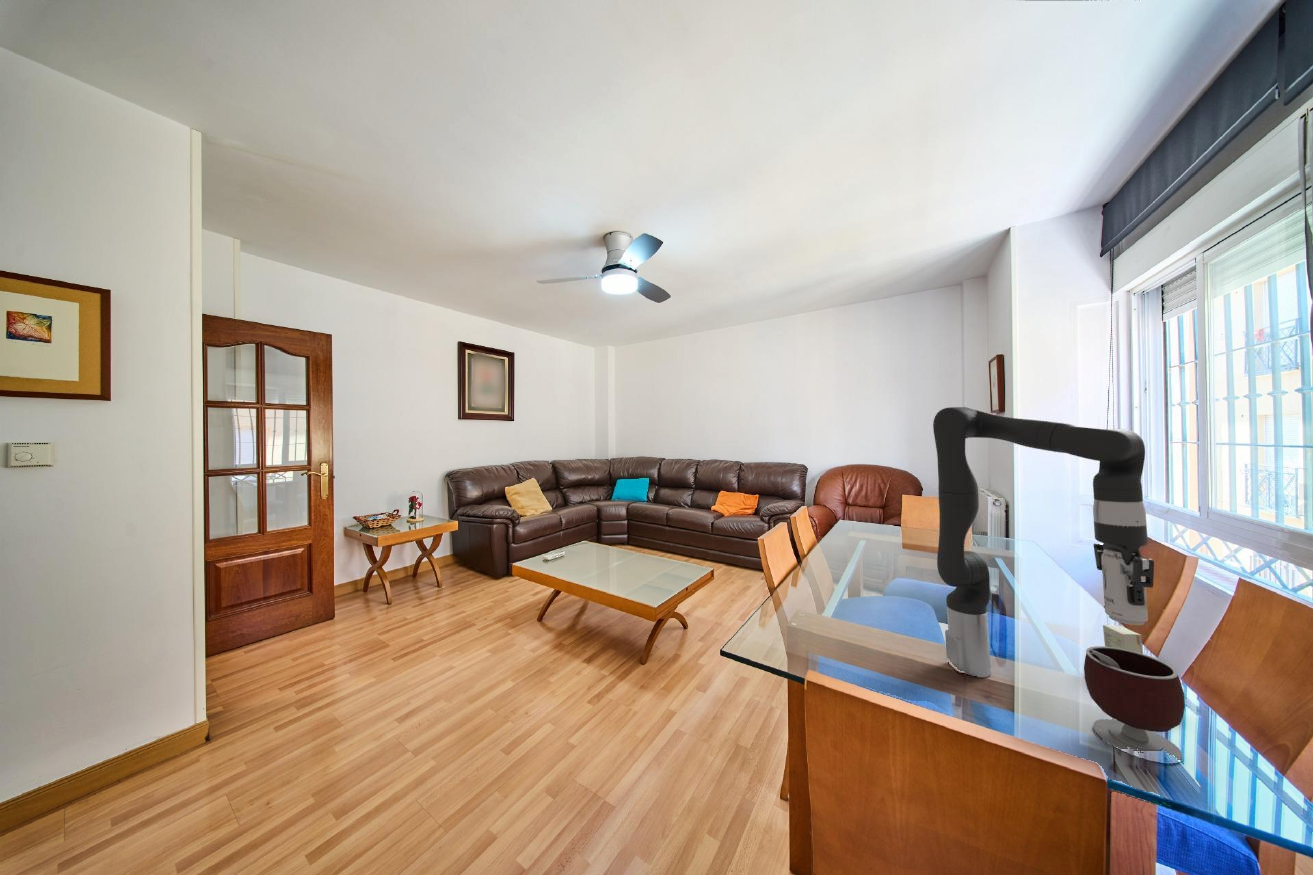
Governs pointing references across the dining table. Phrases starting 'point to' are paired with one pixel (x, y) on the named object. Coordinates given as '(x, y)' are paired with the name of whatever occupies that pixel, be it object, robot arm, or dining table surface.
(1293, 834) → the dining table surface
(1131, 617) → the energy drink can
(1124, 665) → the mate gourd
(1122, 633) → the skincare box
